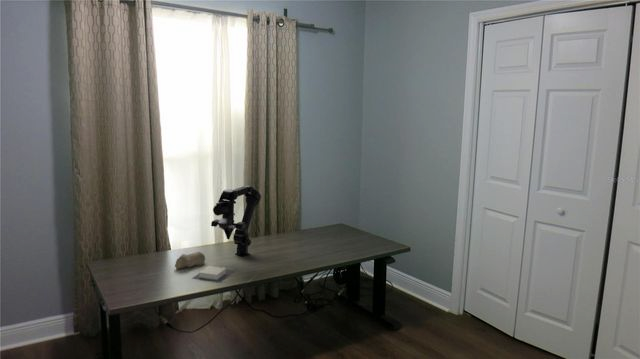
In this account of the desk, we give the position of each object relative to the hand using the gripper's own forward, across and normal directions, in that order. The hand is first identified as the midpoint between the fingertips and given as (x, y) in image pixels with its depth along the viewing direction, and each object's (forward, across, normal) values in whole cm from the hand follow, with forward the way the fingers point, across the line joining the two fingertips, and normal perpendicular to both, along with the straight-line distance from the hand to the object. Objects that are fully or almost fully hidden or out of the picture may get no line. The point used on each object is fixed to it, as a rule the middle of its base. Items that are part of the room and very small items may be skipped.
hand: (228, 239), depth 253 cm
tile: (+11, +3, -20) cm, 23 cm away
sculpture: (+14, -15, -15) cm, 25 cm away
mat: (+13, +3, -23) cm, 26 cm away
